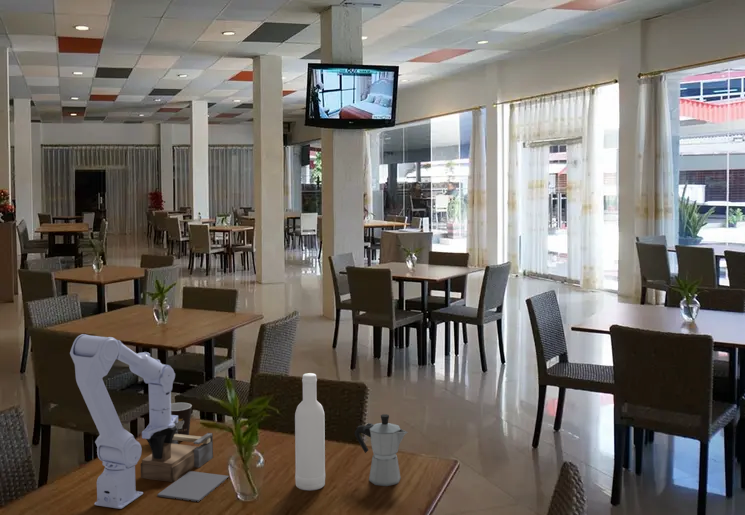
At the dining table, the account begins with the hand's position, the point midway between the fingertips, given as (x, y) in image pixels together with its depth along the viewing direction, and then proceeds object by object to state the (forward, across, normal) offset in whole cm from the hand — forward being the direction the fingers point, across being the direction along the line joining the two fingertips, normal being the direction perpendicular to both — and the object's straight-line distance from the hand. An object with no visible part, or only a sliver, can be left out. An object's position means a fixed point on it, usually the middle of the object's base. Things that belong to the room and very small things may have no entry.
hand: (161, 455), depth 199 cm
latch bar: (+1, +14, 0) cm, 14 cm away
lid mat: (+6, -4, -12) cm, 14 cm away
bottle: (+6, +6, -41) cm, 42 cm away
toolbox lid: (+2, +4, 0) cm, 5 cm away
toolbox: (+6, +7, 0) cm, 9 cm away
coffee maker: (+6, +16, -58) cm, 60 cm away
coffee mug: (+6, +28, +14) cm, 32 cm away
